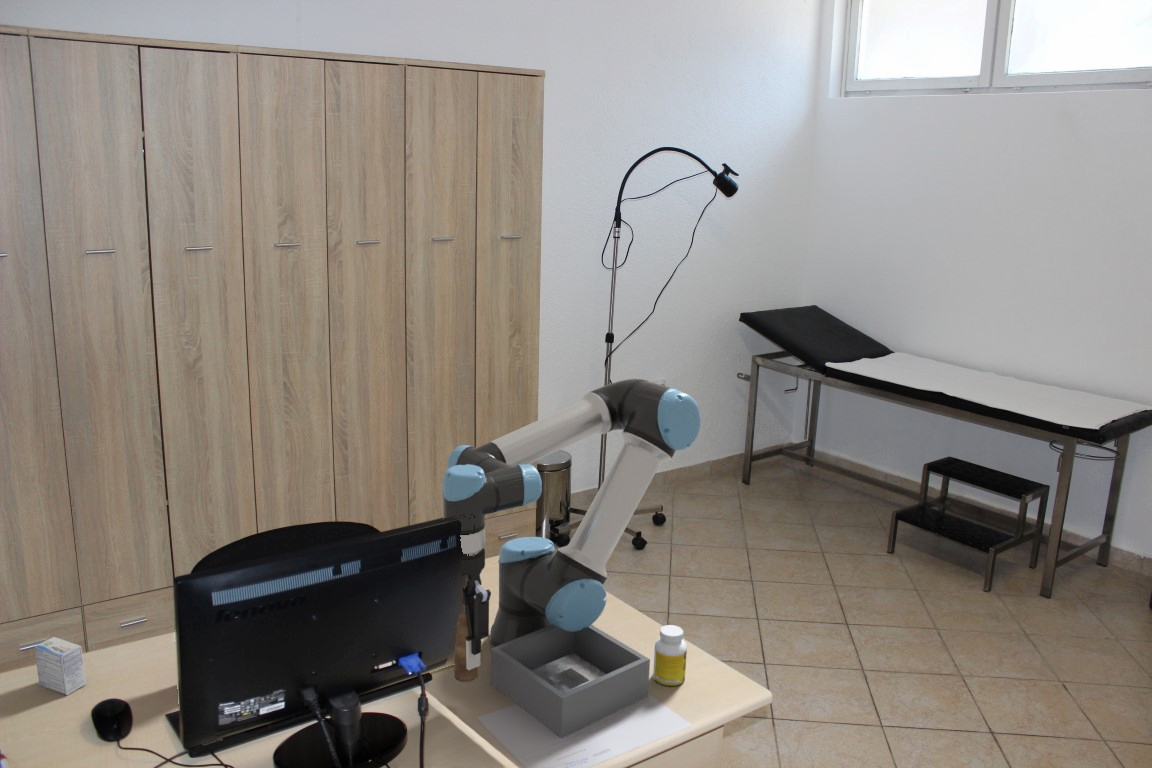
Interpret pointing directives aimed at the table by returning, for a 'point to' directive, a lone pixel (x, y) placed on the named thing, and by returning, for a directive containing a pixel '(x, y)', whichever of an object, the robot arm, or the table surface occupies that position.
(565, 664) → the bore plate
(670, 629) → the pill bottle
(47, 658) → the medicine box
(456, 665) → the walnut peg
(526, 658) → the open box
